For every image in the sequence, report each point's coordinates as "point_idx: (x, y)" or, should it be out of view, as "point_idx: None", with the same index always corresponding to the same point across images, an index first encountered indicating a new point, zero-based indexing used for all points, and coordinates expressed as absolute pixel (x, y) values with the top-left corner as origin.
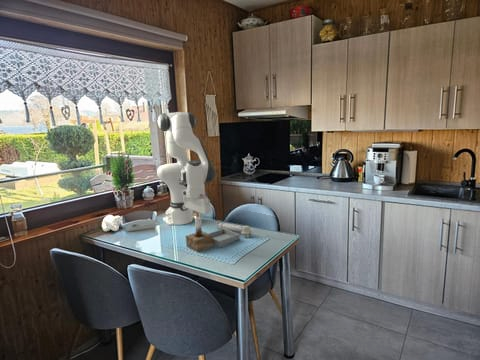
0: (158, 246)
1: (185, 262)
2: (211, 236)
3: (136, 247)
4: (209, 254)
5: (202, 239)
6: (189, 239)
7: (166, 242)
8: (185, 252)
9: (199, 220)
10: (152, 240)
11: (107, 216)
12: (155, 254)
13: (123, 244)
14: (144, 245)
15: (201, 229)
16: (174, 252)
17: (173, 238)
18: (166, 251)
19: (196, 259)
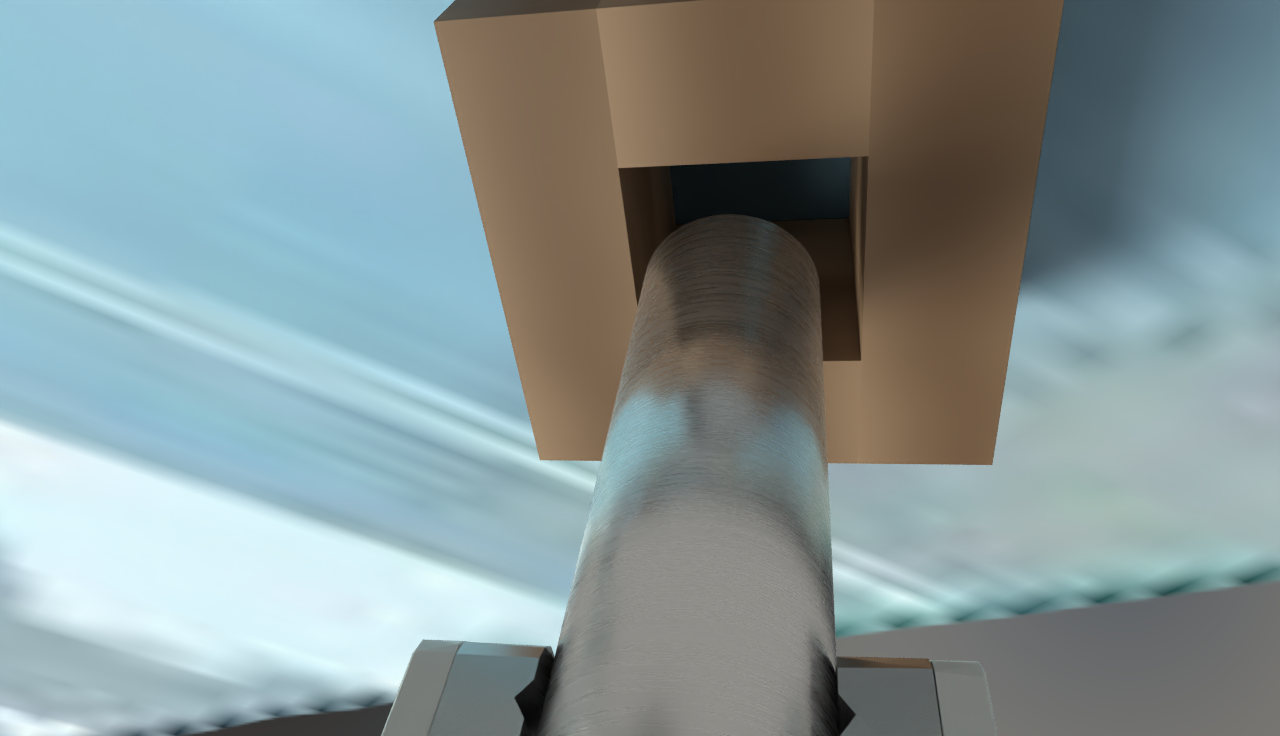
0: (331, 551)
1: (1114, 574)
2: (1055, 15)
3: (239, 682)
4: (1266, 204)
5: (1010, 314)
6: None
7: (226, 435)
8: None
9: (833, 663)
10: (65, 515)
11: None
12: None
13: (89, 713)
14: (213, 623)
15: (808, 333)
16: None
17: (83, 296)
18: (568, 561)
19: (1191, 448)
